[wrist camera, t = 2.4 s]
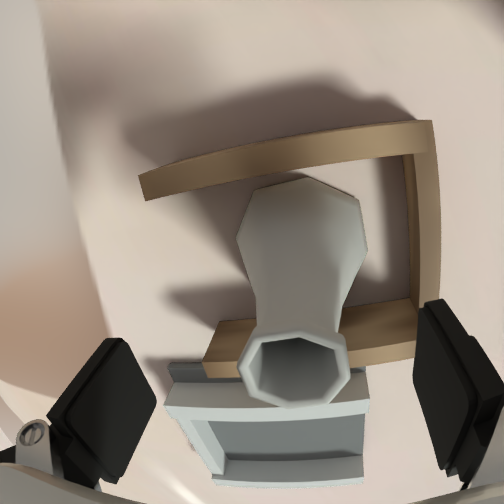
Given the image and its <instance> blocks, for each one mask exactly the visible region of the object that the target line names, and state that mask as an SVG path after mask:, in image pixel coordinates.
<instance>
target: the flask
mask: <svg viewBox="0 0 504 504" xmlns="http://www.w3.org/2000/svg"><path fill="white" fill-rule="evenodd" d="M236 240H237V244H238V247H239V250H240V253H241V256H242V259H243V262H244V265H245V268H246V271H247V275H248V278H249V281H250V284H251V287H252V290H253V292H254V294H255V297H256V317H257V326H256V327H255V328H254V330H253V331H252V333H251V335H250V337H249V339H248V341H247V343H246V345H245V347H244V349H243V351H242V353H241V355H240V357H239V359H238V361H237V366H236V368H237V370H238V372H239V375H240V377H241V379H242V381H243V384H244V386H245V388H246V390H247V393H248V395H249V397H252V398H255V399H258V400H261V401H264V402H267V403H270V404H273V405H276V406H279V407H282V408H285V409H294V408H304V407H312V406H320V405H328V404H329V403H330V402H331V401H332V400H333V399H334V397H335V396H336V395H337V394H338V393H339V392H340V390H341V389H342V388H343V387H344V386H345V384H346V383H347V382H348V381H349V380H350V367H349V360H348V353H347V347H346V340H345V338H344V336H343V335H342V334H340V333H338V328H339V323H340V317H341V311H342V306H343V303H344V301H345V299H346V297H347V294H348V292H349V290H350V288H351V285H352V283H353V281H354V278H355V276H356V274H357V272H358V270H359V268H360V266H361V264H362V262H363V260H364V258H365V256H366V254H367V251H368V248H367V242H366V236H365V230H364V224H363V219H362V213H361V208H360V203H359V200H358V199H356V198H354V197H352V196H349V195H347V194H345V193H343V192H341V191H338V190H336V189H334V188H332V187H330V186H327V185H325V184H323V183H321V182H318V181H316V180H314V179H311V178H309V177H307V178H302V179H298V180H294V181H290V182H285V183H281V184H277V185H273V186H269V187H265V188H261V189H257V190H254V192H253V194H252V197H251V199H250V202H249V205H248V207H247V210H246V212H245V215H244V218H243V220H242V223H241V225H240V228H239V231H238V233H237V236H236Z"/></svg>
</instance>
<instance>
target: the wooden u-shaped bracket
mask: <svg viewBox="0 0 504 504" xmlns="http://www.w3.org/2000/svg"><path fill="white" fill-rule="evenodd" d="M394 155H402V159H403V167H404V176H405V185H406V196H407V209H408V224H409V247H410V298H406V299H400V300H394V301H388V302H382V303H375V304H369V305H362V306H355V307H348V308H342V311H341V317H340V323H339V328H338V333H340V334H342V335H343V336H344V338H345V340H346V347H347V353H348V360H349V367H350V368H355V367H363V366H369V365H376V364H382V363H388V362H394V361H400V360H405V359H410V358H415V349H416V338H417V324H418V311H419V308H423V307H424V303H425V302H428V301H432V300H437V299H439V289H440V271H441V207H440V189H439V175H438V164H437V155H436V146H435V138H434V131H433V124H432V120H409V121H397V122H387V123H377V124H368V125H360V126H352V127H344V128H337V129H330V130H324V131H317V132H311V133H305V134H299V135H293V136H288V137H282V138H277V139H272V140H267V141H262V142H257V143H252V144H247V145H243V146H238V147H234V148H229V149H225V150H221V151H216V152H212V153H208V154H204V155H200V156H196V157H192V158H188V159H185V160H181V161H177V162H174V163H171V164H168V165H165V166H162V167H159V168H157V169H154V170H151V171H148V172H146V173H143V174H140V175H138V177H139V181H140V184H141V188H142V191H143V195H144V198H145V201H148V200H152V199H156V198H160V197H165V196H169V195H173V194H177V193H181V192H186V191H190V190H194V189H199V188H203V187H208V186H212V185H217V184H222V183H227V182H231V181H236V180H241V179H246V178H251V177H257V176H262V175H267V174H273V173H278V172H284V171H289V170H295V169H301V168H307V167H313V166H320V165H326V164H333V163H340V162H347V161H354V160H361V159H369V158H377V157H385V156H394ZM256 326H257V318H255V319H244V320H232V321H220V322H219V323H218V326H217V328H216V330H215V333H214V335H213V337H212V340H211V342H210V344H209V347H208V349H207V351H206V354H205V356H204V358H203V361H202V364H203V367H204V369H205V371H206V374H207V376H208V378H233V377H240V375H239V372H238V370H237V368H236V366H237V361H238V359H239V357H240V355H241V353H242V351H243V349H244V347H245V345H246V343H247V341H248V339H249V337H250V335H251V333H252V331H253V330H254V328H255V327H256Z"/></svg>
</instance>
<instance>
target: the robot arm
mask: <svg viewBox="0 0 504 504" xmlns="http://www.w3.org/2000/svg"><path fill="white" fill-rule="evenodd" d="M413 384H414V387H415V390H416V393H417V396H418V399H419V402H420V405H421V408H422V411H423V414H424V417H425V421H426V424H427V427H428V430H429V434H430V437H431V440H432V444H433V447H434V451H435V455H436V458H437V462H438V466H439V468H440V470H443V469H445V470H446V474H447V477H450V476H454V475H457V474H458V475H459V479H460V481H462V482H463V483H462V485H461V487H460V489H459V491H457V492H454V493H450V494H446V495H442V496H438V497H434V498H430V499H426V500H422V501H418V502H414V503H409V504H504V383H503V381H502V379H501V378H500V376H499V374H498V373H497V371H496V369H495V368H494V366H493V364H492V363H491V361H490V360H489V358H488V356H487V355H486V353H485V352H484V350H483V349H482V347H481V346H480V344H479V343H478V341H477V340H476V338H475V337H474V336H469V335H468V333H467V332H466V330H465V329H464V327H463V326H462V325H461V323H460V322H459V320H458V319H457V317H456V316H455V314H454V313H453V312H452V310H451V309H450V307H449V306H448V304H447V303H446V302H445V300H444V299H437V300H432V301H428V302H425V303H424V307H423V308H419V311H418V324H417V338H416V349H415V358H414V367H413ZM156 403H157V400H156V396H155V394H154V392H153V391H152V389H151V387H150V385H149V383H148V381H147V380H146V378H145V376H144V374H143V372H142V370H141V368H140V366H139V364H138V362H137V360H136V358H135V356H134V354H133V352H132V350H131V348H130V346H129V345H128V343H127V342H125V341H124V340H123V339H122V338H106V339H105V340H104V341H103V342H102V343H101V345H100V346H99V347H98V348H97V350H96V351H95V352H94V353H93V355H92V356H91V357H90V358H89V360H88V361H87V362H86V364H85V365H84V366H83V368H82V369H81V370H80V371H79V373H78V374H77V375H76V376H75V378H74V379H73V380H72V382H71V383H70V384H69V385H68V387H67V388H66V390H65V391H64V392H63V393H62V395H61V396H60V397H59V399H58V400H57V401H56V403H55V404H54V405H53V407H52V408H51V410H50V411H49V412H48V414H47V415H46V417H47V418H48V419H49V420H50V422H51V423H52V424H51V425H50V426H49V425H48V424H47V423H46V422H45V421H44V420H41V419H36V420H32V421H30V422H28V423H26V424H25V425H24V426H23V427H22V428H21V429H20V431H19V432H18V434H17V437H16V445H15V446H12V447H10V448H7V449H5V450H2V451H0V504H145V503H141V502H136V501H132V500H128V499H124V498H121V497H117V496H113V495H110V494H106V493H103V492H102V490H101V487H100V484H99V479H100V477H101V478H102V479H103V480H104V481H106V482H109V483H113V484H117V482H118V480H119V478H120V477H122V476H123V475H124V473H125V471H126V469H127V466H128V464H129V462H130V460H131V458H132V456H133V453H134V451H135V449H136V447H137V445H138V443H139V441H140V438H141V436H142V434H143V432H144V430H145V428H146V426H147V424H148V421H149V419H150V417H151V415H152V413H153V411H154V409H155V407H156Z"/></svg>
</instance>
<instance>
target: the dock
mask: <svg viewBox="0 0 504 504" xmlns="http://www.w3.org/2000/svg"><path fill="white" fill-rule="evenodd" d="M168 370H169V373H170V375H171V377H172V379H173V381H174V384H173V386H172V388H171V390H170V392H169V394H168V396H167V398H166V401H165V403H164V405H163V406H164V408H165V409H166V411H167V413H168V414H169V416H170V418H174V419H177V421H178V423H179V424H180V426H181V428H182V429H183V431H184V433H185V434H186V436H187V437H188V439H189V440H190V442H191V444H192V445H193V447H194V448H195V450H196V451H197V453H198V454H199V456H200V457H201V459H202V460H203V462H204V463H205V465H206V466H207V468H208V469H209V470H210V472H211V473H212V478H211V479H212V480H213V482H214V483H215V484H216V485H220V486H231V487H246V488H278V489H286V488H318V487H333V486H344V485H353V484H362V483H363V480H364V471H363V441H364V422H365V413H369V403H370V397H369V390H368V384H367V377H366V366H363V367H355V368H350V380H349V381H348V382H347V383H346V384H345V386H344V387H343V388H342V389H341V390H340V392H339V393H338V394H337V395H336V396H335V397H334V399H333V400H332V401H331V402H330V403H329V404H328V405H320V406H312V407H304V408H294V409H285V408H282V407H279V406H276V405H273V404H270V403H267V402H264V401H261V400H258V399H255V398H252V397H249V395H248V393H247V390H246V388H245V386H244V384H243V381H242V379H241V377H233V378H208V376H207V374H206V371H205V369H204V367H203V364H202V363H170V364H169V366H168Z"/></svg>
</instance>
